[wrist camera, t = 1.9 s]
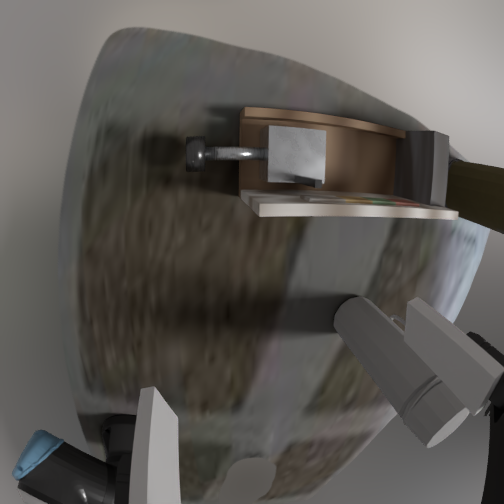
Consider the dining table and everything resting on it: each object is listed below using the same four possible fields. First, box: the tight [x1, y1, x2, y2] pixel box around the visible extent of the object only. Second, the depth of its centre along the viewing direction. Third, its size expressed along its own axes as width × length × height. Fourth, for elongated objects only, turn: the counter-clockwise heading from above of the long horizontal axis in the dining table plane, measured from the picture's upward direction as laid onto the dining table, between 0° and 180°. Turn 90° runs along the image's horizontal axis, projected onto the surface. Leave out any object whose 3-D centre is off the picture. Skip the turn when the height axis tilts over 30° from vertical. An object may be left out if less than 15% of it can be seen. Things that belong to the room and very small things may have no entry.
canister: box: [445, 159, 504, 234], centre depth 28 cm, size 11×10×20 cm
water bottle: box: [333, 296, 470, 448], centre depth 29 cm, size 9×8×25 cm
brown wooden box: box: [239, 107, 459, 220], centre depth 27 cm, size 24×10×12 cm, turn 89°
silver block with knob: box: [186, 125, 326, 188], centre depth 25 cm, size 14×6×9 cm, turn 89°
